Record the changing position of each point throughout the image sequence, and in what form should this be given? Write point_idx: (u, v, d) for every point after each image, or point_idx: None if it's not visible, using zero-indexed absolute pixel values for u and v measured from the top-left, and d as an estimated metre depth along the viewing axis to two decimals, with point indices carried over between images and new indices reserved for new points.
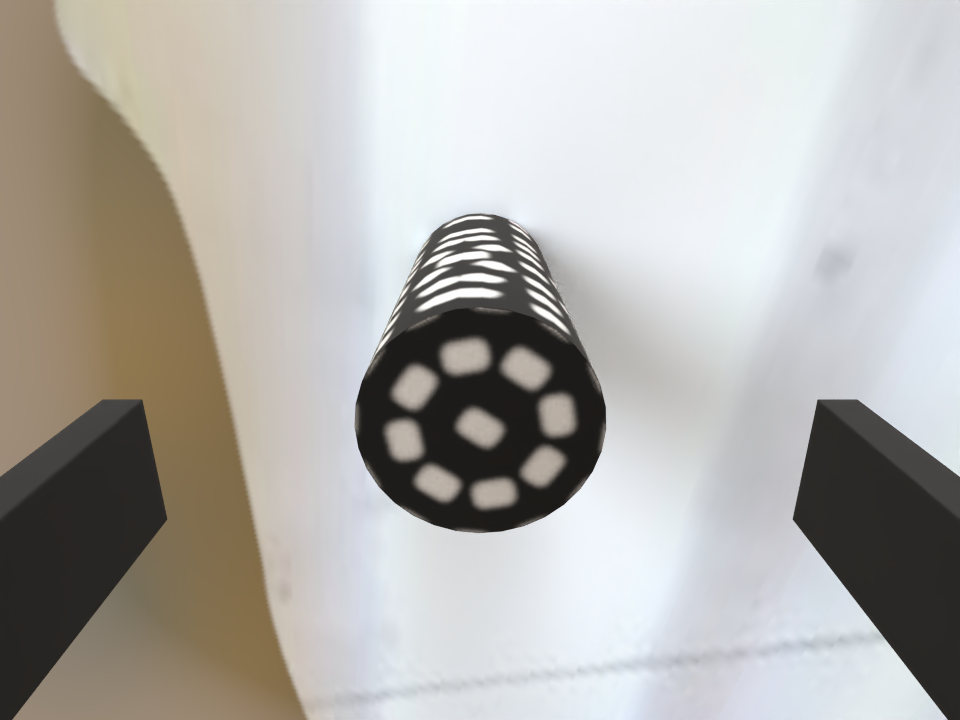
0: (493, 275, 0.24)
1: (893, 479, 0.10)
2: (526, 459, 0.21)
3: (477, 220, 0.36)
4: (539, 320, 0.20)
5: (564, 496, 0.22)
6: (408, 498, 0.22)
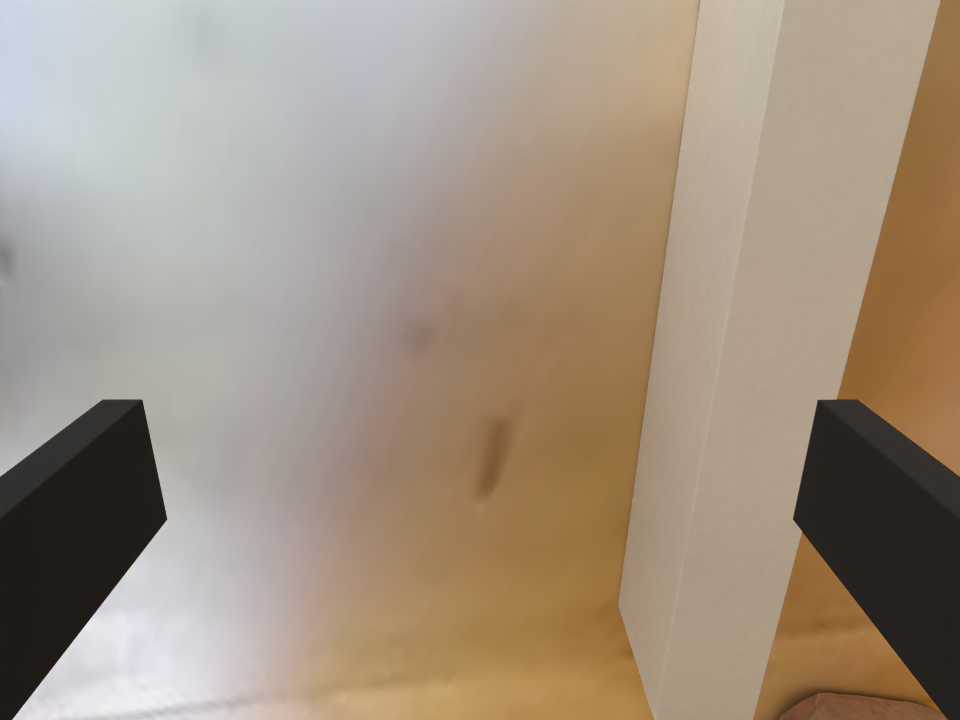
0: None
1: (893, 479, 0.10)
2: None
3: None
4: None
5: None
6: None
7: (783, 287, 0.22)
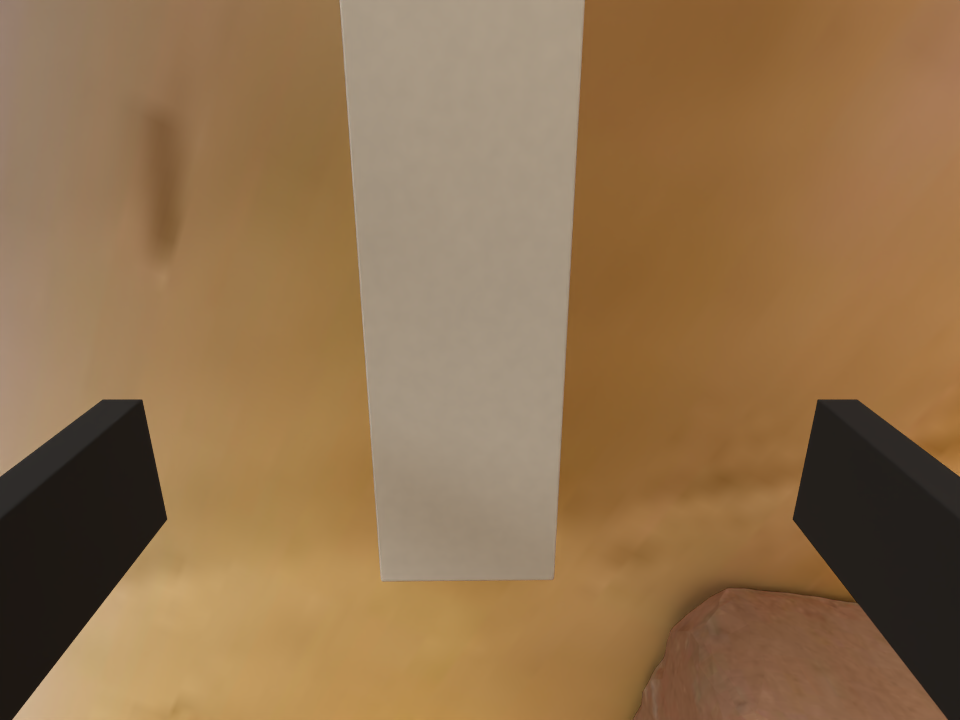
0: None
1: (893, 479, 0.10)
2: None
3: None
4: None
5: None
6: None
7: None
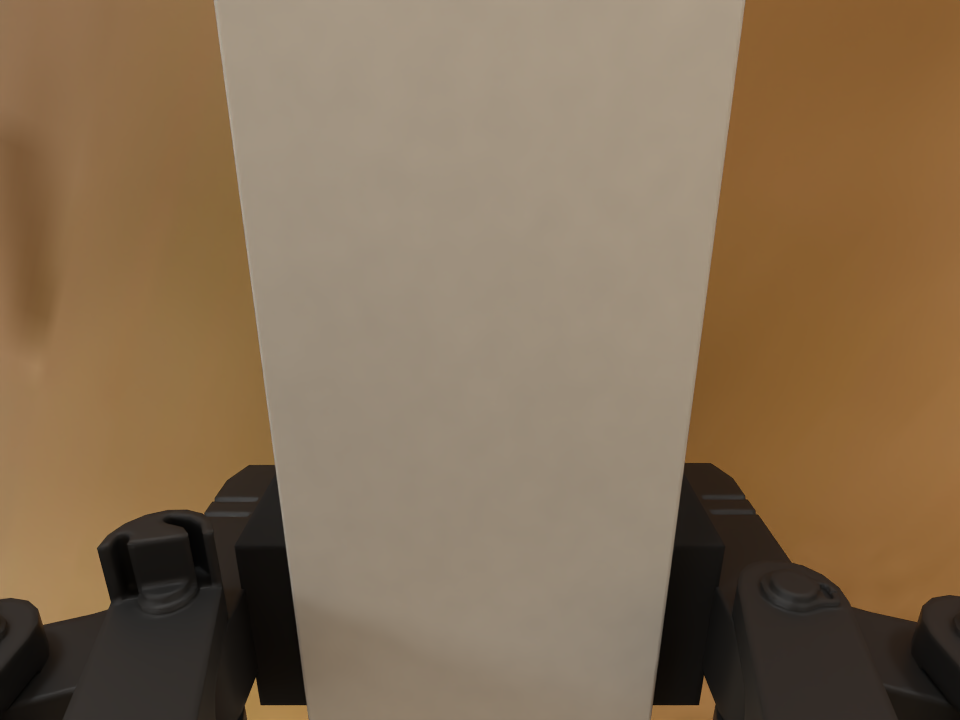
0: None
1: None
2: None
3: None
4: None
5: None
6: None
7: None
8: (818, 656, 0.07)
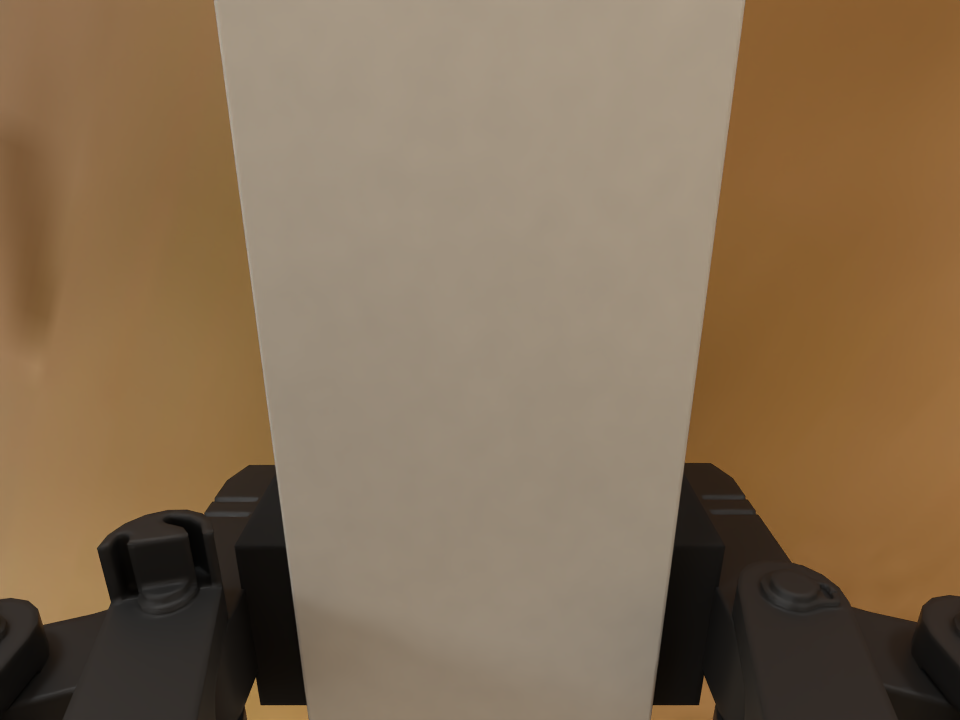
0: None
1: None
2: None
3: None
4: None
5: None
6: None
7: None
8: (818, 656, 0.07)
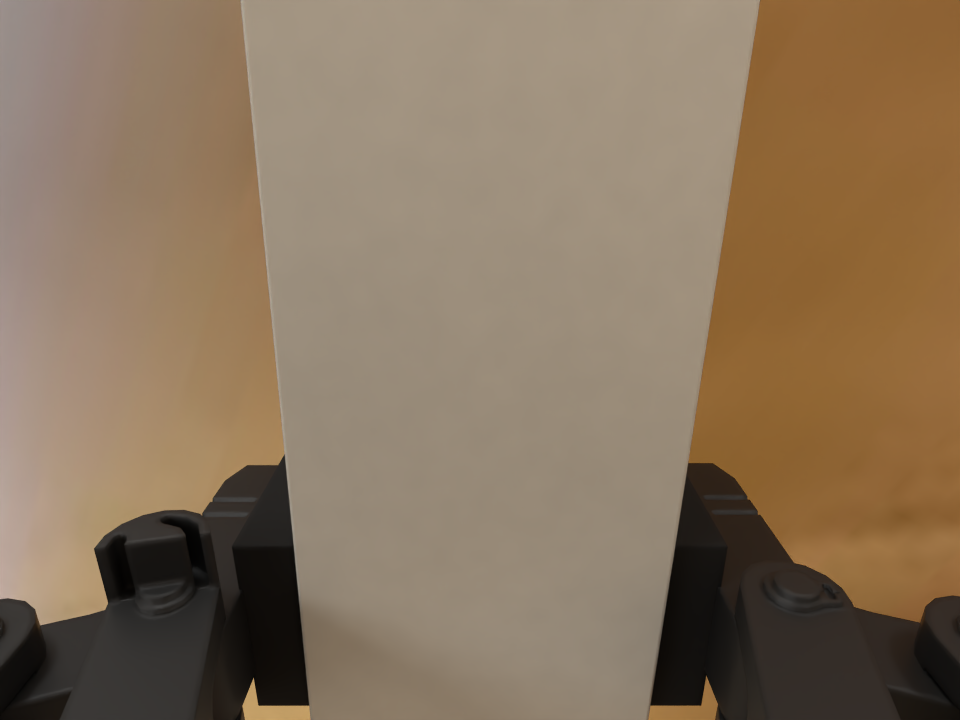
0: None
1: None
2: None
3: None
4: None
5: None
6: None
7: None
8: (821, 658, 0.07)
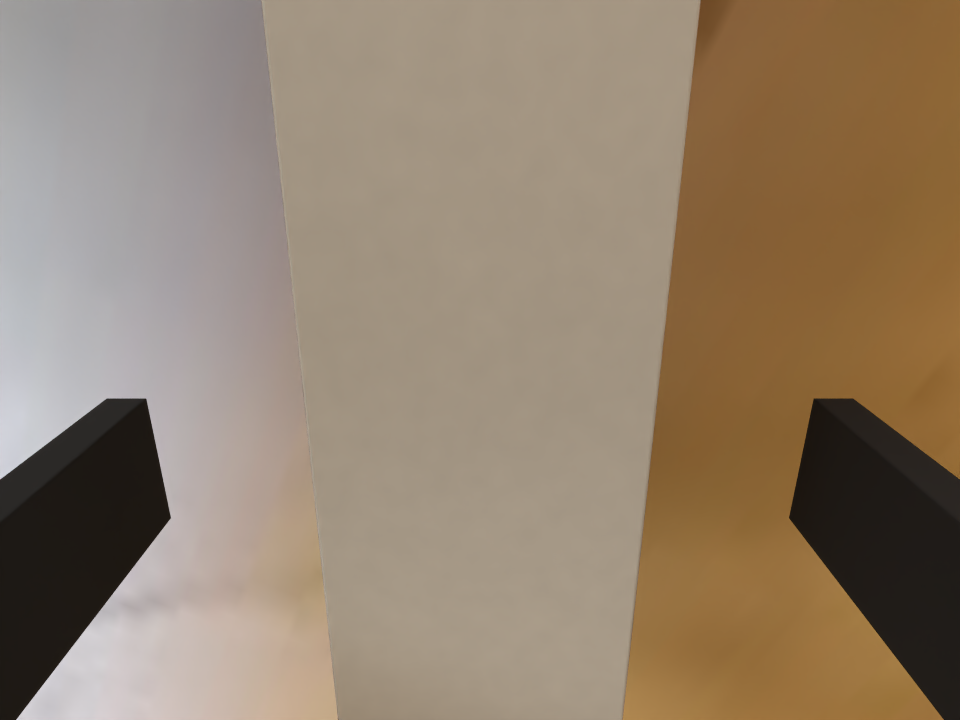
0: None
1: (888, 478, 0.10)
2: None
3: None
4: None
5: None
6: None
7: None
8: None
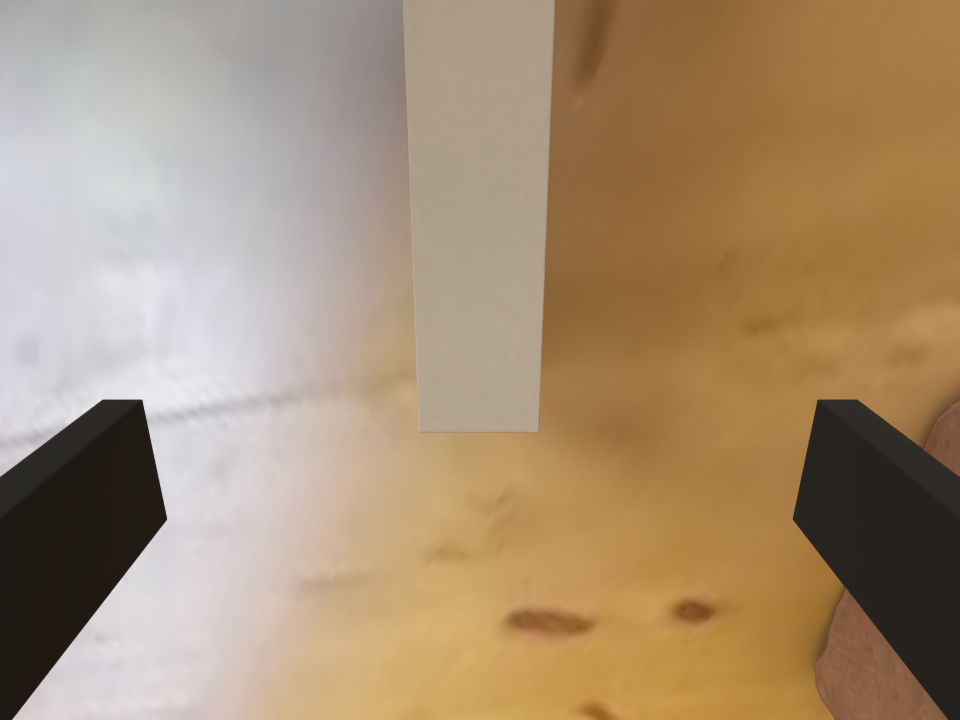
0: None
1: (893, 479, 0.10)
2: None
3: None
4: None
5: None
6: None
7: None
8: None
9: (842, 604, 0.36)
